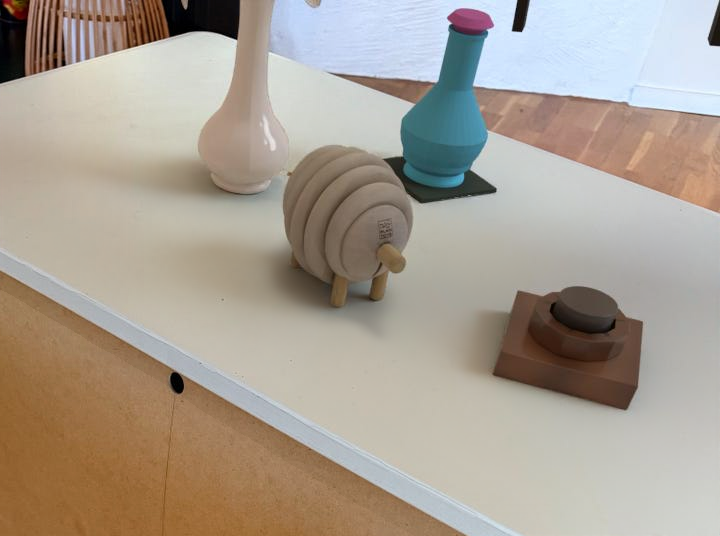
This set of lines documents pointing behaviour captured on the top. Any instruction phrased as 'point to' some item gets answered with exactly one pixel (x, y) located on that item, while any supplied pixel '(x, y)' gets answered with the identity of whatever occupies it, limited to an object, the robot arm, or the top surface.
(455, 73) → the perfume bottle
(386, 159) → the coaster
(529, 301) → the button block
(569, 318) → the button
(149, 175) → the top surface
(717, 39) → the robot arm
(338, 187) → the toy sheep
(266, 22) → the flower vase
